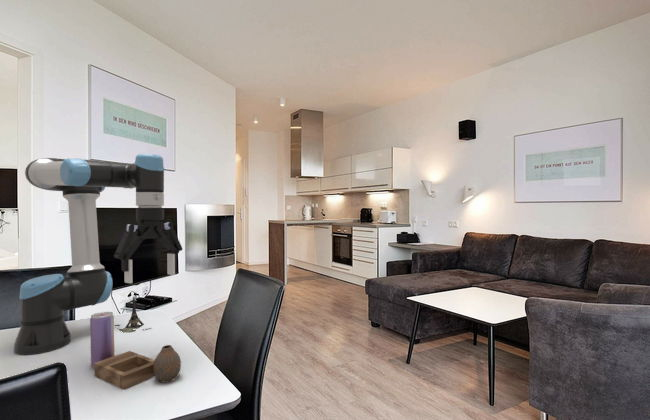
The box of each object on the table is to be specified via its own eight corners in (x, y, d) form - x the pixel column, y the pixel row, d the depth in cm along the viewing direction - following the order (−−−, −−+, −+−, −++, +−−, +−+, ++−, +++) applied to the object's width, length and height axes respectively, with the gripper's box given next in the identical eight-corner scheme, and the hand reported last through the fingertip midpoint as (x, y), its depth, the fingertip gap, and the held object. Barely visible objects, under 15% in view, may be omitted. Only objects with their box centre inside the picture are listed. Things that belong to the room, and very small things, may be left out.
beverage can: (103, 369, 104) (102, 317, 104) (86, 368, 106) (84, 316, 105) (119, 361, 110) (118, 311, 110) (102, 359, 111) (101, 311, 111)
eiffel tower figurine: (113, 326, 144) (112, 293, 144) (141, 321, 151) (140, 289, 151) (123, 336, 133) (123, 300, 133) (152, 329, 140) (152, 295, 140)
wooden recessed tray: (94, 375, 101) (94, 363, 101) (129, 362, 109) (129, 350, 109) (123, 389, 93) (123, 376, 93) (159, 374, 101) (159, 361, 101)
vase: (173, 370, 103) (172, 340, 103) (186, 377, 99) (185, 345, 99) (148, 379, 98) (148, 347, 98) (161, 387, 94) (160, 353, 94)
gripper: (114, 207, 95) (115, 288, 95) (193, 206, 116) (194, 272, 117) (99, 207, 99) (100, 285, 99) (178, 206, 120) (179, 270, 121)
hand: (151, 278), depth 108 cm, fingers open, 13 cm apart
